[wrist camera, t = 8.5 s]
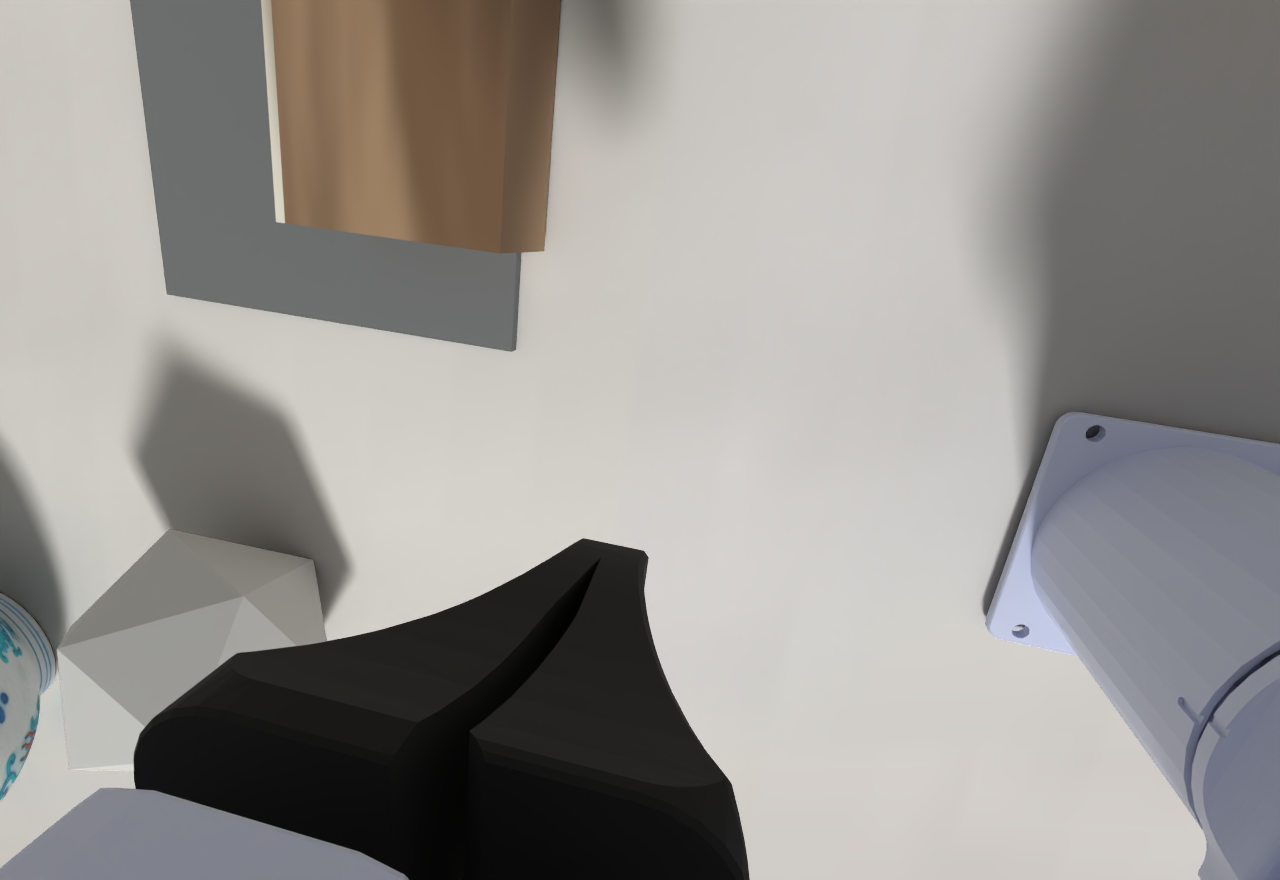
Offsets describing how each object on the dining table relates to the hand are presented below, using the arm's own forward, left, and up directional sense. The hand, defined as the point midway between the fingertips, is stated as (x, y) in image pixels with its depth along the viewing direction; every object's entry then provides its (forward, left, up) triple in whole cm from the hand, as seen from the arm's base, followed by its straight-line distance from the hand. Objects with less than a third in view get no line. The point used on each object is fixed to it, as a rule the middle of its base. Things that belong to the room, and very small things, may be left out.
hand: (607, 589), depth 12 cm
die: (+17, +11, -11) cm, 23 cm away
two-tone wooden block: (+5, -10, -8) cm, 14 cm away
